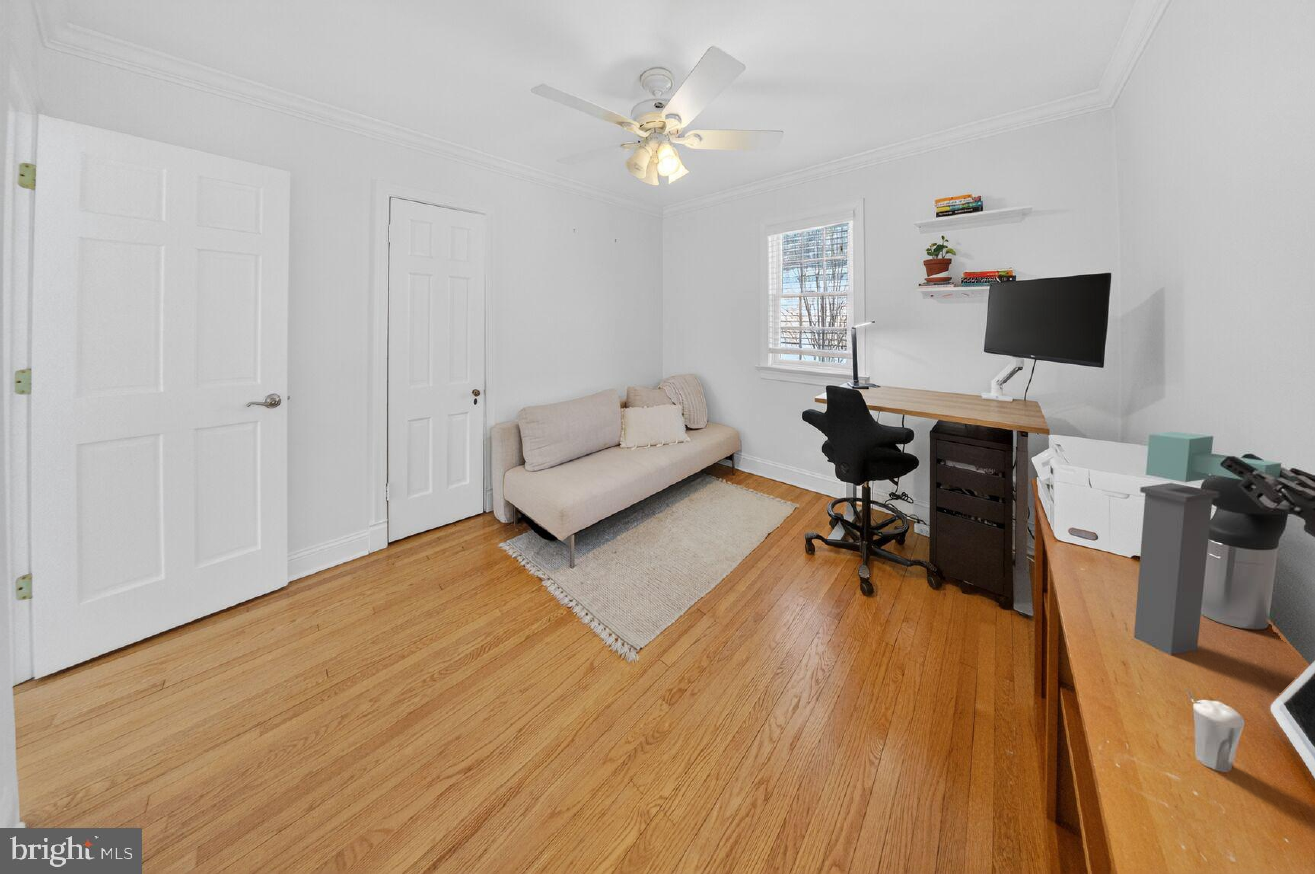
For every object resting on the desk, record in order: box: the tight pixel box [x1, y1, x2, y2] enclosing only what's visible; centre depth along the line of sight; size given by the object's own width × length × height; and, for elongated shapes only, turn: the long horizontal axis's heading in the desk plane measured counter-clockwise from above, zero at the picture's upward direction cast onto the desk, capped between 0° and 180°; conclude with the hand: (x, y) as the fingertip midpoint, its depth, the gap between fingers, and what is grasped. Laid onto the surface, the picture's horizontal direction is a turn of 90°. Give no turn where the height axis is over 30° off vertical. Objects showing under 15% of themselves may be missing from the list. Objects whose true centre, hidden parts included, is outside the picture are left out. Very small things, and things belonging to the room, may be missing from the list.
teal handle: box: [1145, 431, 1282, 483], centre depth 79 cm, size 15×5×8 cm, turn 7°
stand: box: [1133, 482, 1219, 656], centre depth 87 cm, size 7×7×32 cm
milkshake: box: [1185, 687, 1245, 773], centre depth 64 cm, size 4×5×10 cm
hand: (1234, 458), depth 76 cm, fingers closed on teal handle, 3 cm apart
